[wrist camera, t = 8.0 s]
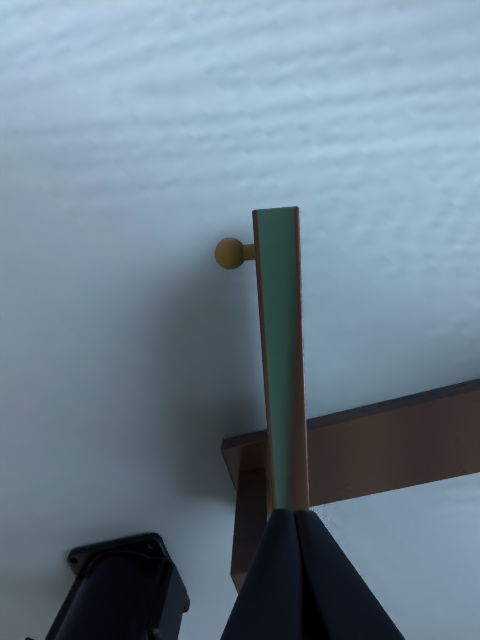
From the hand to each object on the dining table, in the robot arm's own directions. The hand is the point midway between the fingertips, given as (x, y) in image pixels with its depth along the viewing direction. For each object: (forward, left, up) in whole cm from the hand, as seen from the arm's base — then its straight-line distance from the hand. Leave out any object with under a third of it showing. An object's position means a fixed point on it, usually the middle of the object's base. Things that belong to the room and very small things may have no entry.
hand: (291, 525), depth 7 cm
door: (-1, -1, -11) cm, 11 cm away
